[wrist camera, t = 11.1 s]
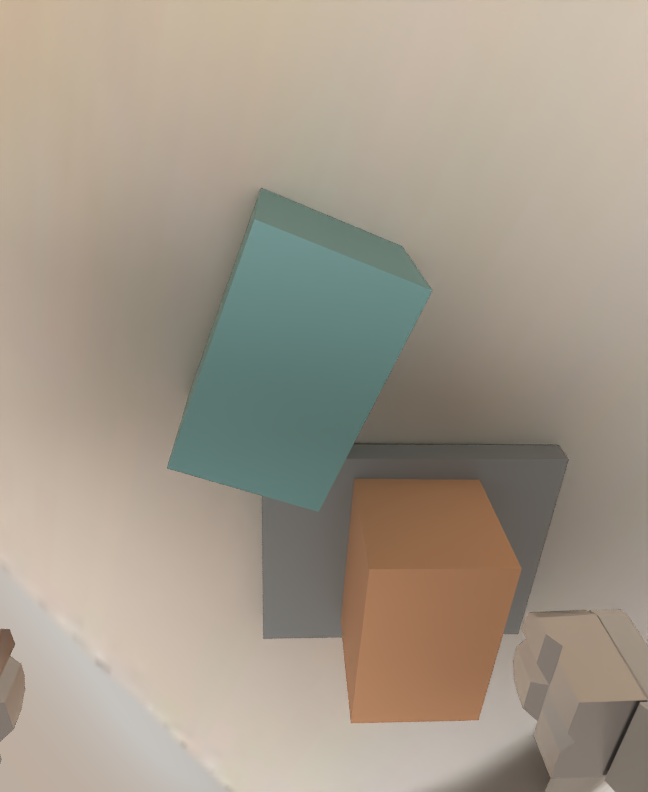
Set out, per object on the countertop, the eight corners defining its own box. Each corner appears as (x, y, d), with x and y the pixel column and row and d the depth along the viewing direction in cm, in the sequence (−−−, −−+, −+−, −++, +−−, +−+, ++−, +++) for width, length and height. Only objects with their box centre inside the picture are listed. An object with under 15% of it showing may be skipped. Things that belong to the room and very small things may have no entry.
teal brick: (401, 244, 20) (432, 290, 16) (312, 433, 23) (318, 512, 19) (261, 187, 19) (254, 219, 15) (189, 393, 22) (167, 468, 18)
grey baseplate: (558, 445, 24) (568, 458, 23) (511, 617, 29) (518, 634, 28) (262, 443, 23) (261, 458, 22) (264, 620, 28) (263, 638, 27)
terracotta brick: (479, 479, 23) (521, 568, 19) (448, 620, 27) (478, 720, 23) (354, 478, 23) (369, 569, 19) (340, 621, 27) (350, 723, 23)
